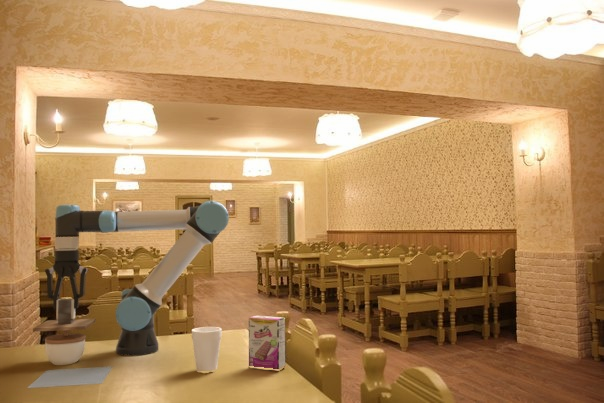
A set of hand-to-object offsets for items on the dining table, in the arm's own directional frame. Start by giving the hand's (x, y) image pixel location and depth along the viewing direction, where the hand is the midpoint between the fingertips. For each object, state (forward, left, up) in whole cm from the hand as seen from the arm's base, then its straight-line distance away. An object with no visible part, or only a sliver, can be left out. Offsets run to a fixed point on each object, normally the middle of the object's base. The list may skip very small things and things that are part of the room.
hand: (65, 318), depth 178 cm
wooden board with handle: (0, 0, -3) cm, 3 cm away
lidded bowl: (0, 0, -15) cm, 15 cm away
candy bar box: (-66, +23, -15) cm, 72 cm away
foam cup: (-47, +21, -15) cm, 54 cm away
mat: (-7, +20, -15) cm, 26 cm away
